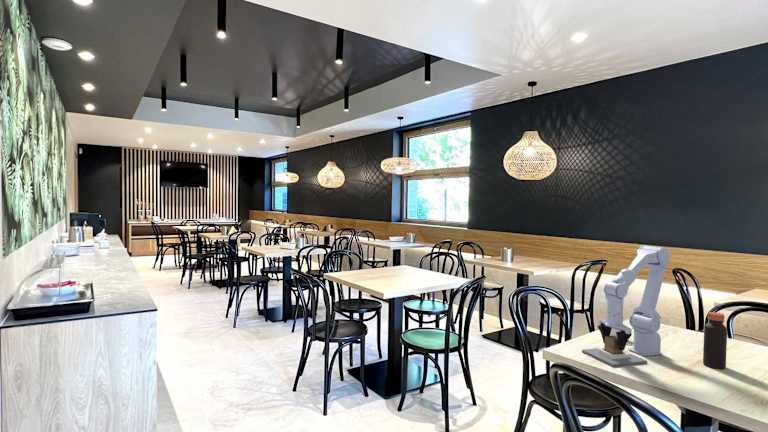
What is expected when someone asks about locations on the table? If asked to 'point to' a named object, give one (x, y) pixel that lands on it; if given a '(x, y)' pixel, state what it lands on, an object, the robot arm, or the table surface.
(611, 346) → the peg
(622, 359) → the holder
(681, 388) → the table surface
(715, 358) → the bottle
